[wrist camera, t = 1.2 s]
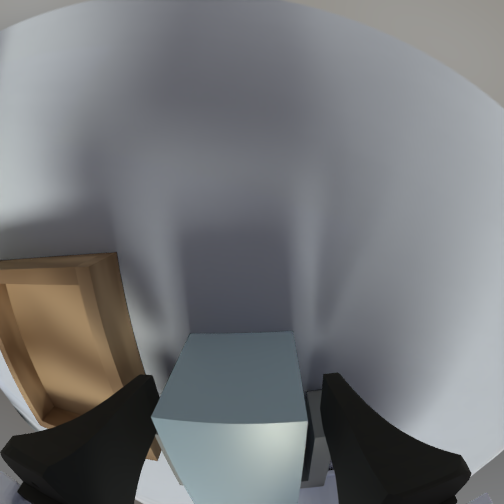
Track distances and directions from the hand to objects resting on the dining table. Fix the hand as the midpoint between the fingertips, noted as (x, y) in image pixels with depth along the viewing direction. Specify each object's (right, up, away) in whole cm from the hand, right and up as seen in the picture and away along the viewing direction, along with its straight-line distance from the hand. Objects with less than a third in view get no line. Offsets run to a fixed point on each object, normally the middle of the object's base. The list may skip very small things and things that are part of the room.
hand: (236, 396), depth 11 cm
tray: (-11, 0, +4) cm, 11 cm away
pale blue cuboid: (0, -2, +4) cm, 4 cm away
